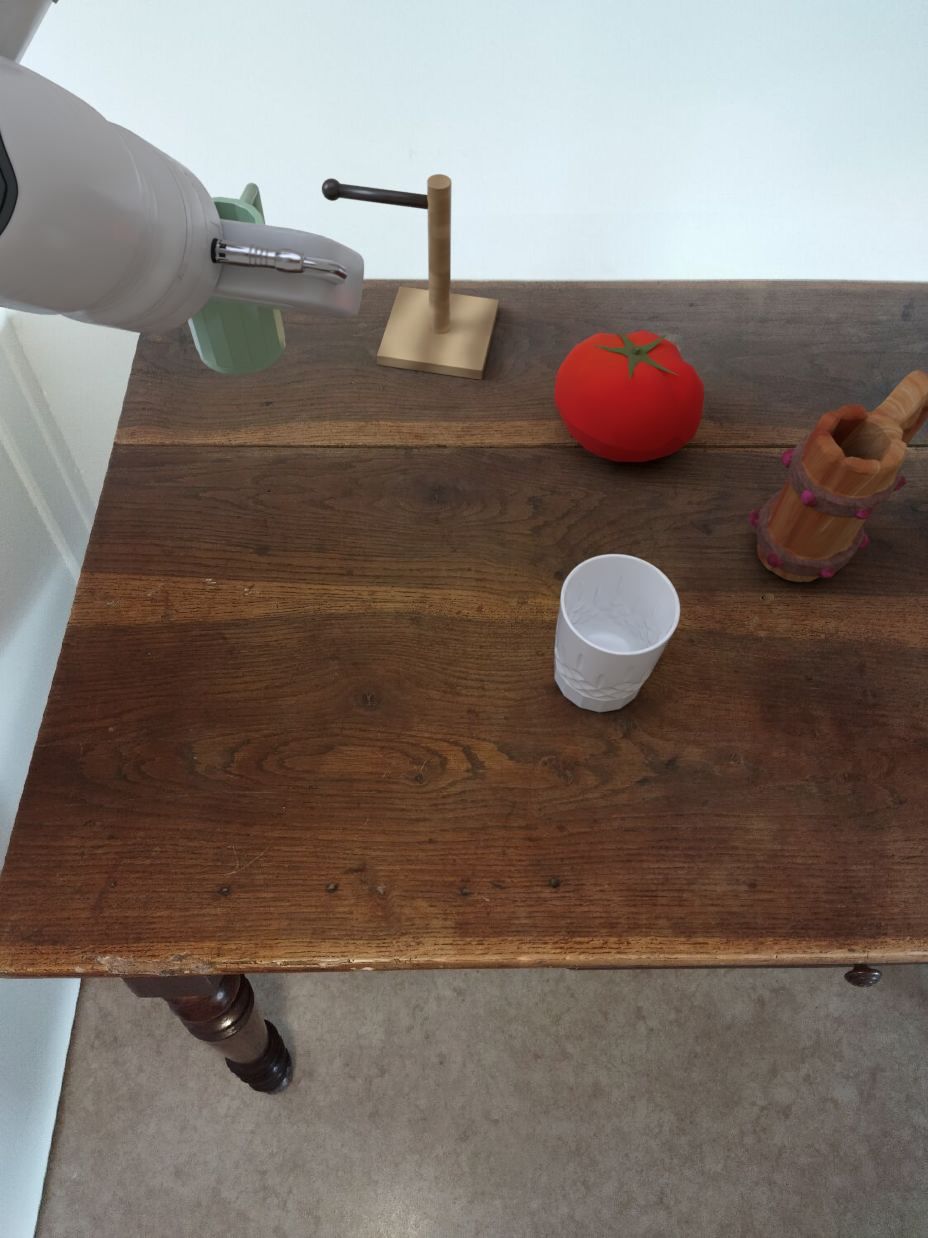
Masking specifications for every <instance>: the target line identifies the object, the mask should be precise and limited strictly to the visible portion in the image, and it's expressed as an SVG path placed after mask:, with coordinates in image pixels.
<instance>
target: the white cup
mask: <svg viewBox="0 0 928 1238" xmlns="http://www.w3.org/2000/svg"><path fill="white" fill-rule="evenodd" d="M680 615H681V604H680V599H679V595H678V593H677V590H676V588H675V586H674V585H673V583H672V582H671V581H670V579H669V578H668V576H666V574H665V573H663V571H661V570H660V569H659V568H658V567H656V566H654V565H653V564H652V563H650V562H648V561H646V560H644V559H642V558H640V557H636V556H632V555H627V554H621V553H608V554H601V555H596V556H593V557H590V558H588V559H586V560H583V561H582V562H580V563H579V564H578V565H577V566H575V567H574V568H573V569H572V570H571V572H569V574H568V575H567V576H566V578H565V580H564V582H563V585H562V587H561V591H560V597H559V605H558V612H557V621H556V628H555V638H554V639H555V640H554V651H553V652H554V659H553V671H554V672H553V674H554V676H553V677H554V681H555V682H556V684H557V686H558V688H559V690H560V691H561V693H562V695H563V696H564V697H565V698H566V699H567V700H569V701H570V702H572V703H573V704H574V705H576V706H577V707H578V708H579V709H580V708H581V709H584V710H588V711H592V712H596V713H604V712H605V713H606V712H610V711H617V710H620V709H622V708H623V707H625V706H626V705H628V704H629V703H630V702H632V701H633V700H634V699H635V698H636V697H637V695H638V693H639V692H640V690H641V688H642V686H643V685H644V683H645V682H646V681H647V680H648V679H649V678H650V675H651V673H652V672H653V670H654V668H655V667H656V665H657V664H658V662H659V660H660V658H661V656H662V655H663V652H664V651H665V649H666V648H667V645H668V643H669V641H670V640H671V638H672V636H673V634H674V632H675V630H676V629H677V626H678V625H679V621H680V617H681V616H680Z"/></svg>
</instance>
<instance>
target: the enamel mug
mask: <svg viewBox="0 0 928 1238" xmlns="http://www.w3.org/2000/svg"><path fill="white" fill-rule="evenodd" d="M211 198H212V200H213V202H214V204H215V207H216V209H217V212H218V215H219V218H220V219H225V220H232V221H240V222H247V223H255V224H262V225H267V224H266V219H265V214H264V209H263V208H264V207H263V204H262V198H261V193H260V189H259V186H258V185H257V184H256V183H254V182H248V183H247V184H246V186H245V187H244V189H243V191H242V193H241V194H240V196H239V198H232V197H226V196H225V197H224V196H215V197H213V196H212V197H211ZM187 323H188V326H189V329H190V332H191V335H192V339H193V342H194V343H193V344H194V345H195V349H196V351H197V353H198V356H199V358H200V359H201V362H203V363H204V365H206V366H207V367H208V368H210V369H211V370H213V371H214V372H218V373H220V374H223V375H231V376H246V375H252V374H255V373H259V372H261V371H264V370H266V369H267V368H269V367H271V366H272V365H274V364H275V363H276V362H277V361H278V360H279V359H280V358H281V357H282V355H283V353H285V349H286V345H287V337H286V332H285V325H284V321H283V314H282V310H278V309H271V308H264V307H257V306H250V305H243V304H236V303H229V302H222V301H215V300H208V301H207V302H206V303H205V305H204V306H203V307H202V308H201V309H200V310H199V311H198V312H197V313H196V314H195V315H194V316H193V317H192V318H190V319H189V320H188V321H187Z"/></svg>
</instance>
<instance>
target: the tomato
mask: <svg viewBox="0 0 928 1238" xmlns="http://www.w3.org/2000/svg"><path fill="white" fill-rule="evenodd" d="M612 329H613V331H614V332H615V333H616V334H614V333H605V332H597V333H595V334H593V335H591V336H590V337H588V338H587V339H585V340H583V341H581V342H579V343H578V344H576V345H575V346H574V347H573V348H572V349H571V351H570V352H569V353H568V354H567V355H566V357H565V359H564V360H563V362H562V363H561V365H560V367H559V369H558V371H557V372H556V377H555V385H554V402H555V405H556V409H557V411H558V414H559V417H560V418H561V421H563V423H564V425H565V426H566V428H567V430H568V432H569V435H570V436H571V437H572V438H573V439H574V440H575V441H577V442H578V444H579V445H580V446H581V447H583V448H584V449H585V451H587V452H589V453H591V454H593V455H594V456H596V457H598V458H601V459H606V460H610V461H614V462H619V463H621V462H623V463H645V462H649V461H654V460H656V459H657V460H658V459H661V458H664V457H668V456H670V455H672V454H674V453H676V452H678V451H680V450H681V449H682V448H683V447H684V446H685V445H687V443H689V441H691V440H692V439H693V438H694V437H695V436H696V433H697V431H698V429H699V427H700V426H701V425H700V424H701V420H702V418H703V410H704V401H705V387H704V386H705V385H704V384H705V383H704V382H703V380H702V379H701V377H700V376H699V374H698V373H697V372H696V370H695V368H694V367H693V365H691V364H689V363H688V362H686V361H685V360H684V359H683V357H682V355H681V353H680V351H679V348H678V346H677V345H676V344H675V343H673V342H672V341H669V340H668V339H666V336H667V334H665V335H659V334H656V333H653V332H650V331H648V330H644V329H642V330H638V331H635V332H631V333H626V334H624V333H621V332H620V331H618V330H616V329H615V328H614V327H612Z"/></svg>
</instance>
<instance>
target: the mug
mask: <svg viewBox="0 0 928 1238" xmlns="http://www.w3.org/2000/svg"><path fill="white" fill-rule="evenodd" d="M927 419H928V373H925V372H924V371H922V370H920V369H916V370H912V371H911V372H910V373H908V374H907V375H906V376H904V377H903V379H902V380H901V381H900V382H899V383H898V385H896V387H894V389H893V390H892V391H891V392H890V393H889V395H888V396H887V397H886V398H885V399H884V400H883V401H882V402H881V403H880V405H878V406H877V407H876V408H875V409H873V410H872V411H871V412H869V411H867V409H866V407H864V406H863V405H860V404H846V405H843V406H841V407H840V408H838V409H837V410H836V411H832V410H831V411H827V412H825V413H824V414H823V415H822V416H821V417H820V418H819V420H818V422H817V424H816V425H815V426H814V428H813V430H811V431H810V432H808V433H807V434H806V435H804V436H803V437H802V438H801V439H800V440H799V442H797V445H796V446H795V448H790V449H787V450H784V451H783V453H782V454H781V456H780V460H781V462H782V464H783V466H784V467H785V468H787V478H786V481H785V483H784V485H783V487H782V489H780V490H779V491H777V492H775V493H774V494H773V495H772V496H771V497H770V498H769V499H768V500H767V501H766V502H765V503H764V505H763V507H762V508H761V509H753V510H752V511H750V512H749V514H748V520H749V522H750V524H751V525H752V526H753V527H754V528H755V534H756V540H757V545H756V550H757V555H758V559H759V560H760V562H761V563H762V565H763V566H764V567H765V568H766V569H767V570H768V571H771V572H773V573H774V574H775V576H776V575H777V576H778V577H780V578H782V579H784V580H786V581H791V582H797V583H803V582H806V583H810V582H812V581H814V580H816V579H818V578H823V579H829V578H832V577H833V576H834V575H835V574H836V572H838V571H839V570H841V569H842V568H844V567H845V566H846V565H847V564H848V563H849V561H850V560H851V559H852V558H853V556H854V555H855V553H856V552H857V550H858V551H859V550H863V549H865V548H867V547H868V546H869V543H870V538H869V536H868V534H866V533H865V528H864V527H865V526H864V523H865V522H866V521H867V519H870V518H871V517H872V514H873V513H874V512H875V511H876V510H878V509H879V508H882V506H883V505H884V504H885V503H886V502H888V500H889V498H890V496H891V495H892V494H893V492H896V491H899V490H901V489H902V488H903V487H904V486H905V485H906V484H907V479H906V477H905V476H904V475H903V474H902V472H901V467H902V465H903V463H904V462H905V460H906V458H907V453H908V445H909V444H910V442H911V441H912V440H913V438H914V437H915V436H916V434H917V433H918V432H919V430H920V429H921V428H922V427H923V425H924V423H925V422H926V421H927Z"/></svg>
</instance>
